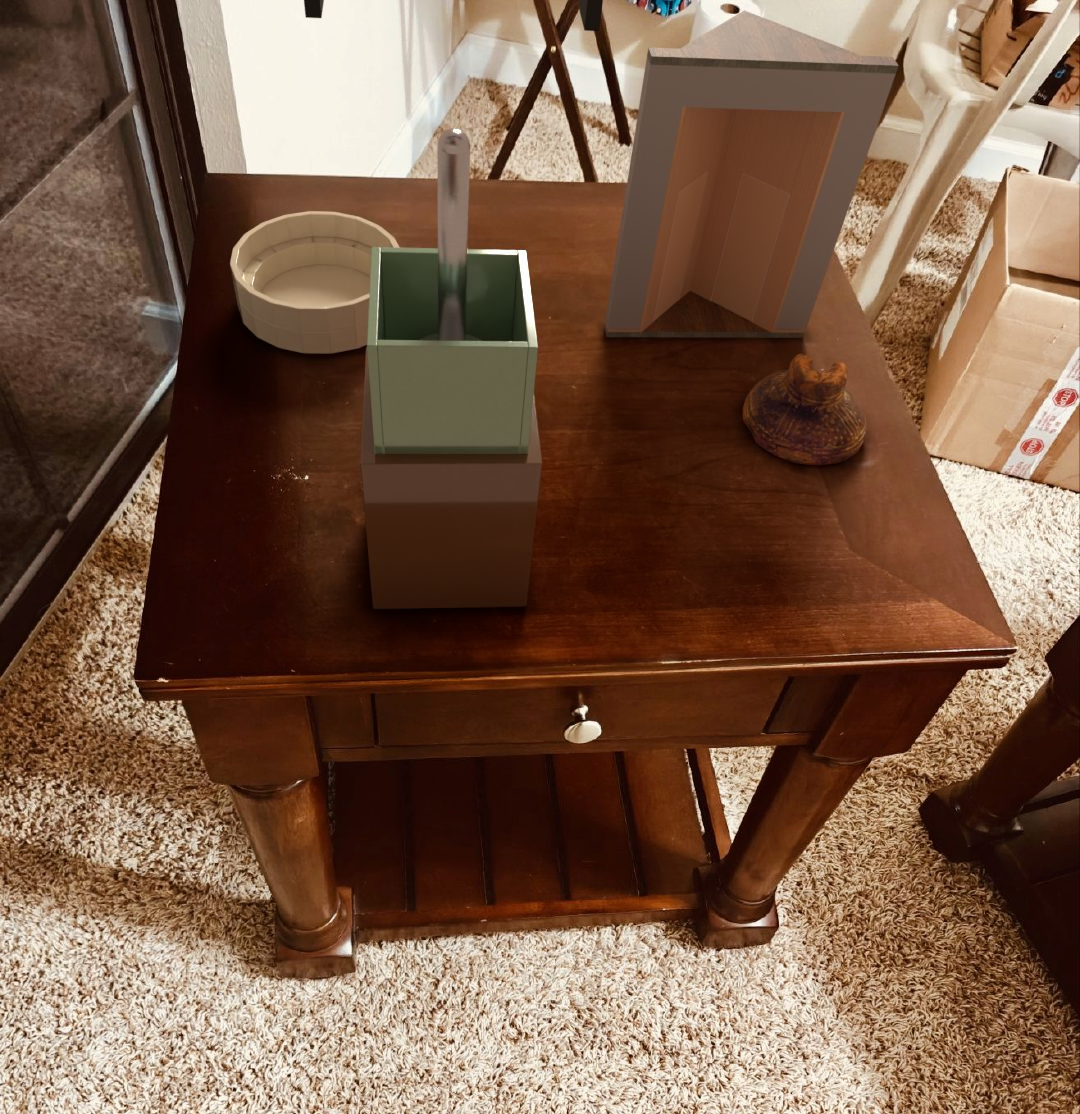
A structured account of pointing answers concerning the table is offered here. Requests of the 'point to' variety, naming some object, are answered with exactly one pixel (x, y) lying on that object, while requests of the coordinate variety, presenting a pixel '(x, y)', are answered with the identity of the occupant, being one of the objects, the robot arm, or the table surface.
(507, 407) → the utensil holder
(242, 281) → the mixing bowl
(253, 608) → the table surface
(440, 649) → the table surface
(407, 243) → the table surface
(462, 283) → the rod with disc base
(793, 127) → the cabinet
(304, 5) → the robot arm
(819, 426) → the bell
